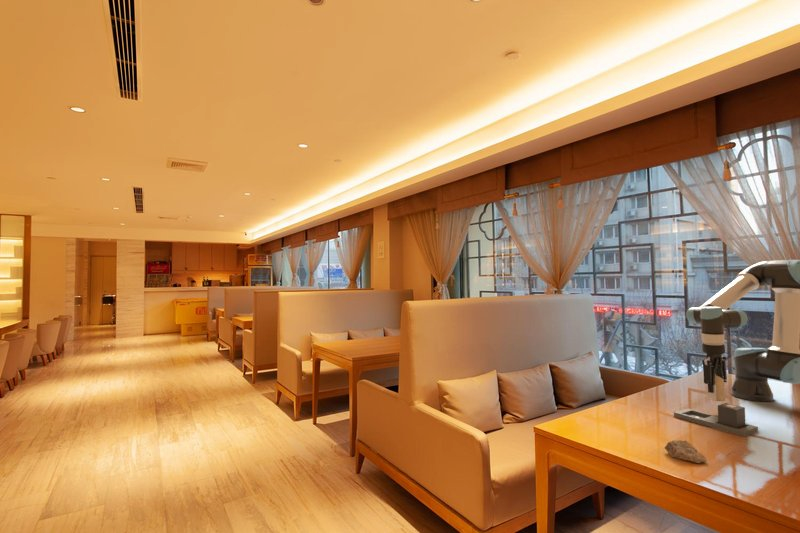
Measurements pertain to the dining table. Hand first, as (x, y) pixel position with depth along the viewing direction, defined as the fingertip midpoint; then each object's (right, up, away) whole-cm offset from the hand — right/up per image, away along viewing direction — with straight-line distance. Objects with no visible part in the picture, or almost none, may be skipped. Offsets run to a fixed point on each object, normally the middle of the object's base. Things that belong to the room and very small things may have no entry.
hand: (716, 398), depth 170 cm
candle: (0, -1, 0) cm, 1 cm away
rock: (-42, -6, -40) cm, 58 cm away
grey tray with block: (-10, -6, -12) cm, 17 cm away
